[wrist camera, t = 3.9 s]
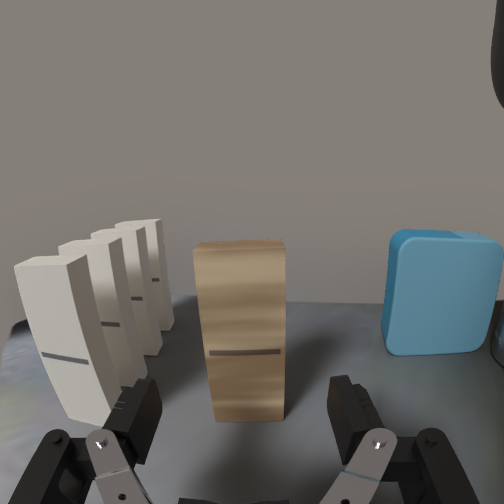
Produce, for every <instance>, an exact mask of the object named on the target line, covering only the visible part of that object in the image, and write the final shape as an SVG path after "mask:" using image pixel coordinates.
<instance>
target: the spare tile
mask: <svg viewBox="0 0 504 504" xmlns="http://www.w3.org/2000/svg"><path fill="white" fill-rule="evenodd" d="M193 259H194V269H195V278H196V289H197V298H198V306H199V315H200V323H201V330H202V338H203V345H204V352H205V359H206V366H207V373H208V379H209V385H210V391H211V397H212V403H213V409H214V415H215V420H216V422H264V421H283V419H284V388H285V333H286V273H285V272H286V269H285V268H286V267H285V246H284V244H283V242H282V240H281V239H266V240H243V241H241V240H240V241H216V242H200V244H199V245H198V246H197V247H196V248H195V249H194V251H193Z"/></svg>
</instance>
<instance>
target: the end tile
mask: <svg viewBox="0 0 504 504" xmlns="http://www.w3.org/2000/svg"><path fill="white" fill-rule="evenodd" d="M142 226H145V229H146V239H147V248H148V256H149V264H150V271H151V278H152V285H153V292H154V298H155V304H156V310H157V315H158V321H159V326H160V331H170V330H171V328H172V326H173V324H174V322H175V321H174V314H173V308H172V301H171V294H170V287H169V280H168V272H167V264H166V255H165V246H164V235H163V225H162V219H151V220H138V221H125V222H121V223H118V224H116V225H115V228H128V227H142Z"/></svg>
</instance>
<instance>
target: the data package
mask: <svg viewBox="0 0 504 504" xmlns="http://www.w3.org/2000/svg"><path fill="white" fill-rule="evenodd" d="M503 258H504V253H503V248H502V246H501V245H500V243H498V242H497V241H495V240H493V239H490V238H489V237H486V236H484V235H482V234H480V233H476V232H457V231H437V230H413V229H411V230H410V229H403V230H400V231H398V232H396V233H395V234H394V235H393V236H392V238H391V240H390V245H389V259H388V271H387V281H386V290H385V298H384V306H383V313H382V320H381V328H382V332H383V336H384V340H385V343H386V347H387V350H388V351H389V352H390V353H391V354H393V355H395V356H416V355H437V354H452V353H464V352H472V351H475V350H476V349H478V348H479V347H480V346H481V345H482V344H483V342H484V340H485V338H486V334H487V331H488V328H489V324H490V320H491V317H492V313H493V309H494V305H495V301H496V296H497V292H498V286H499V282H500V276H501V271H502V265H503Z"/></svg>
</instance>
